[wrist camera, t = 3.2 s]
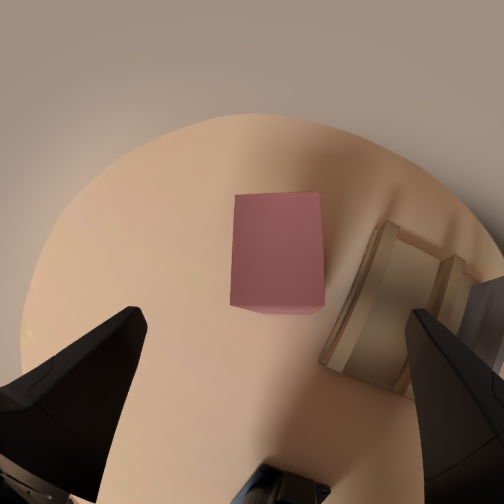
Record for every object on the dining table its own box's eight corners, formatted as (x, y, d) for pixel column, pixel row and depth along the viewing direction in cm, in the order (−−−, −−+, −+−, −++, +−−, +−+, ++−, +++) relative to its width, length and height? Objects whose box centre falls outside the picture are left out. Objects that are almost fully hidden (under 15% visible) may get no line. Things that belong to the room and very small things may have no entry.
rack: (439, 406, 15) (484, 431, 9) (317, 360, 18) (326, 379, 12) (482, 288, 17) (533, 272, 10) (372, 233, 20) (400, 192, 13)
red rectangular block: (312, 314, 19) (324, 305, 10) (263, 313, 20) (229, 305, 10) (311, 253, 20) (320, 191, 11) (265, 253, 21) (235, 194, 11)
